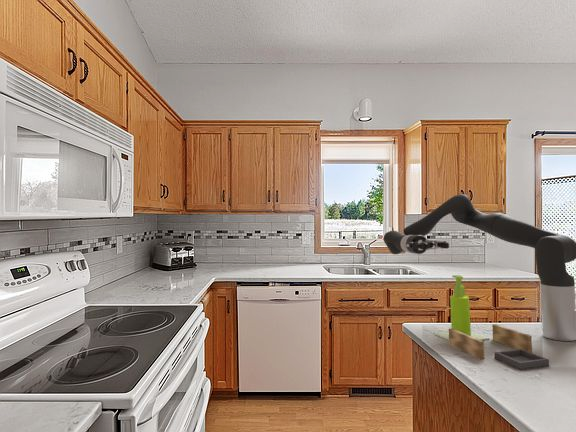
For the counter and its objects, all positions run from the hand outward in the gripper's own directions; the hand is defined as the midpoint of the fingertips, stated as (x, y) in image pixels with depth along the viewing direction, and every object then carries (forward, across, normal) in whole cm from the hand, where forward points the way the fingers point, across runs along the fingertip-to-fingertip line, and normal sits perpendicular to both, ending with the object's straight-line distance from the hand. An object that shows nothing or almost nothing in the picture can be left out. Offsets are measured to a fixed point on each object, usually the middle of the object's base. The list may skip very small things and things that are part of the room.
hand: (437, 246), depth 141 cm
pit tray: (+36, 0, +30) cm, 47 cm away
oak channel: (+24, 0, +30) cm, 39 cm away
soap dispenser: (+11, 0, +30) cm, 32 cm away
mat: (+11, 0, +30) cm, 32 cm away
